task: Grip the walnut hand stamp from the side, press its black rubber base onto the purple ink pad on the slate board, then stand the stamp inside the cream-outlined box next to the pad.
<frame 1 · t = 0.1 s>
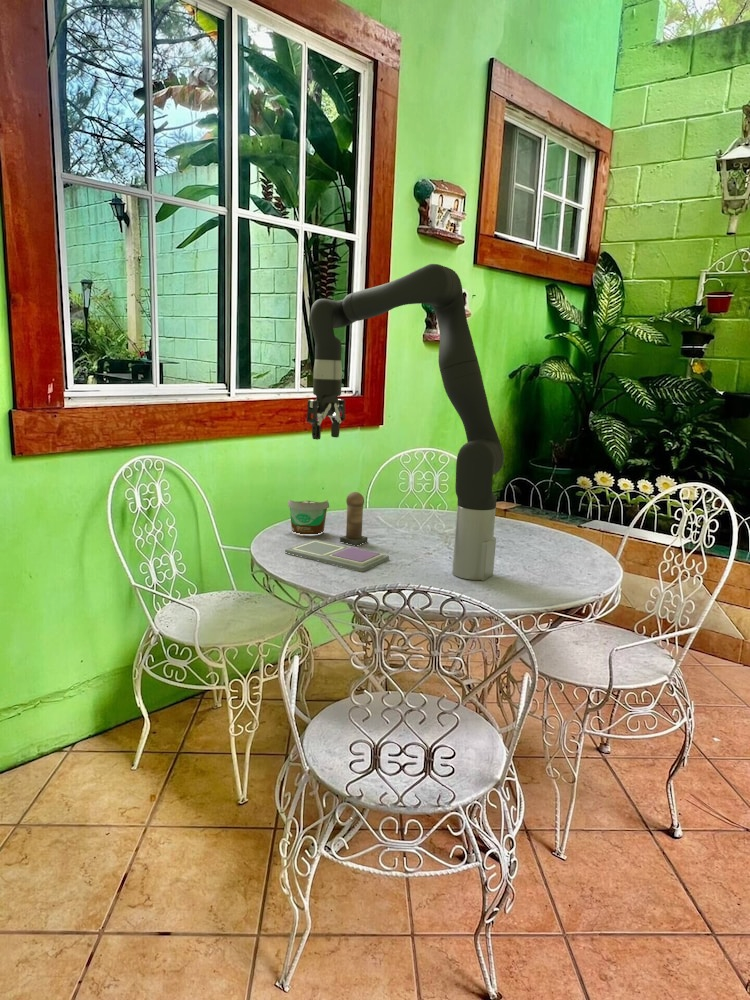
hand: (325, 438, 175), 29 cm above the table, tool pointing down, fingers open, 8 cm apart
food container: (307, 535, 188), on the table
stamp: (353, 542, 182), on the table
stamping board: (336, 556, 168), on the table
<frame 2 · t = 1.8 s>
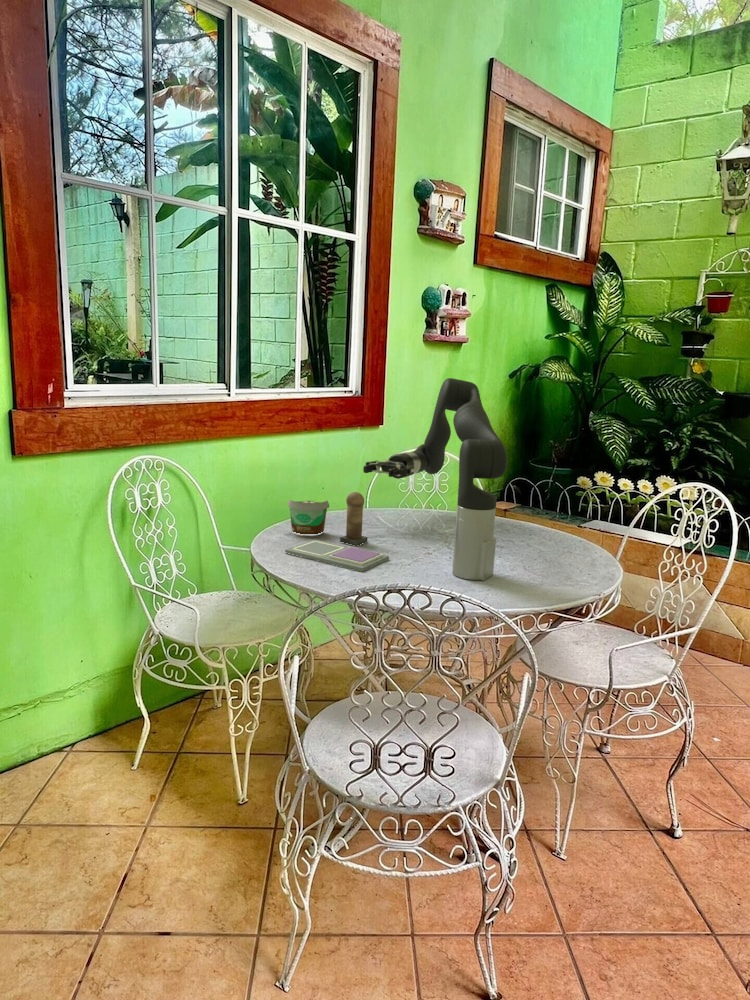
hand: (377, 471, 187), 19 cm above the table, tool horizontal, fingers open, 8 cm apart
nothing on the table moved.
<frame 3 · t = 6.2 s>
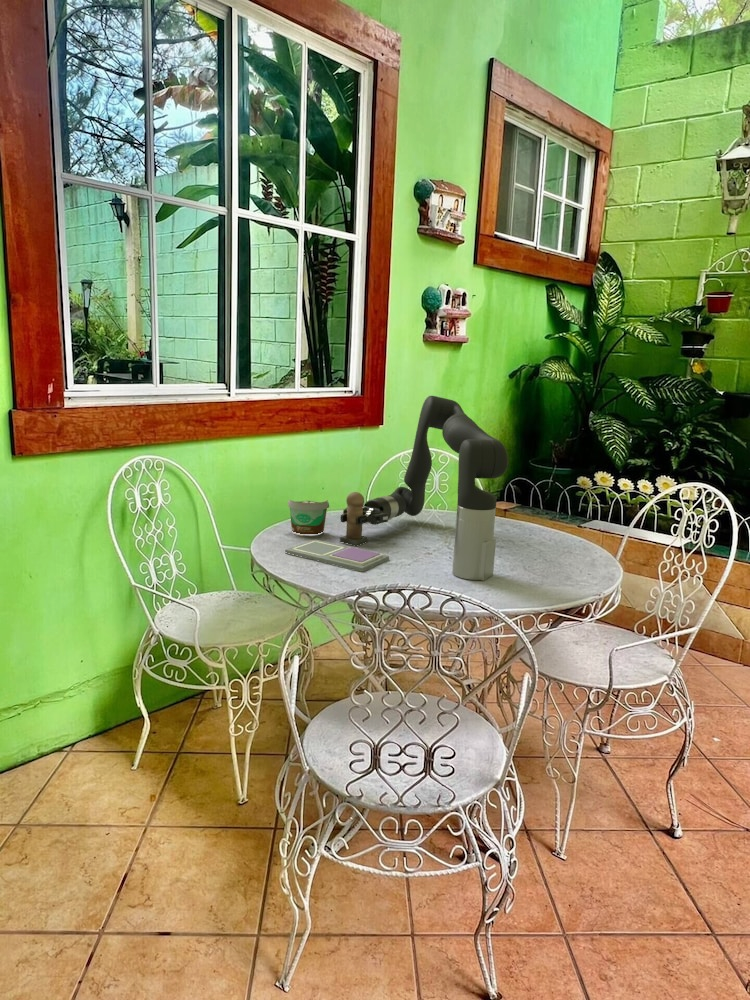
hand: (349, 519, 178), 7 cm above the table, tool horizontal, fingers closed on stamp, 4 cm apart
stamp: (353, 542, 182), on the table, touching gripper
everything else where it was.
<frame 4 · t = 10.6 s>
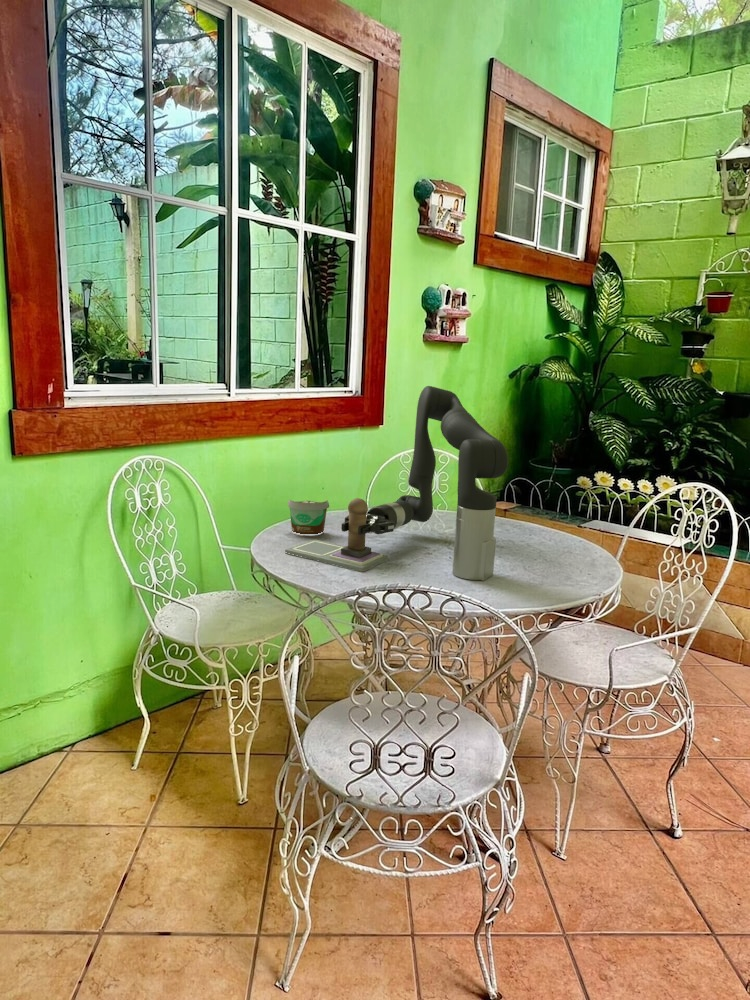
hand: (351, 529, 161), 9 cm above the table, tool horizontal, fingers closed on stamp, 4 cm apart
stamp: (356, 553, 165), point 2 cm above the table, touching gripper, stamping board
everything else where it was.
when the fingers open (9 cm above the table, at t = 15.0 s): stamp stays where it is, resting on stamping board.
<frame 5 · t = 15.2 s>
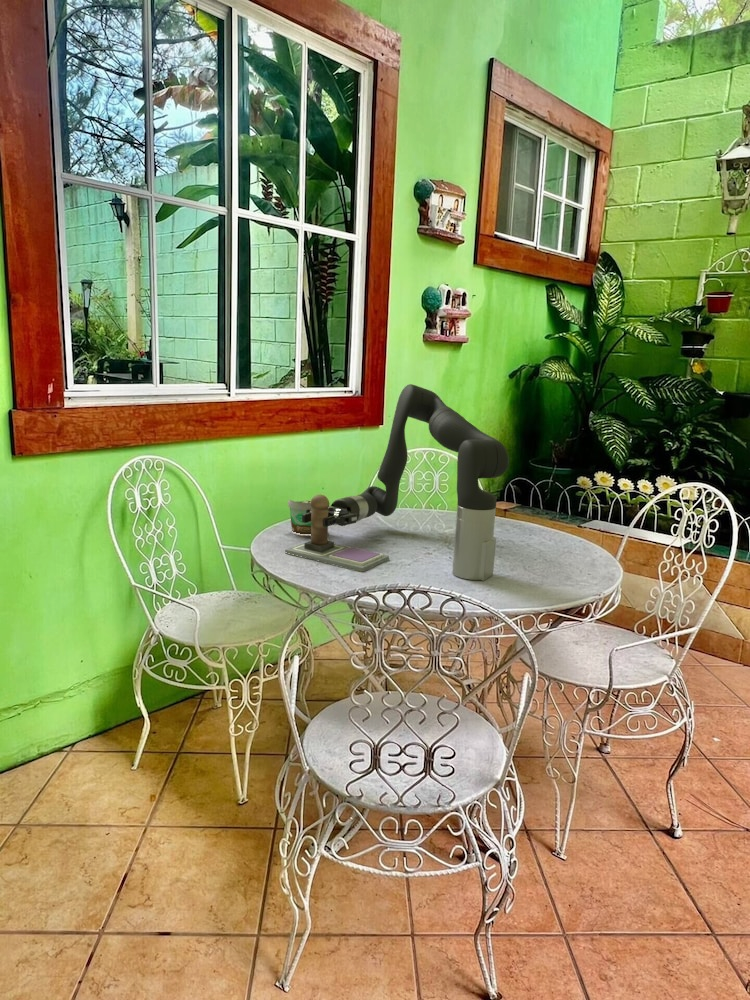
hand: (313, 520, 167), 9 cm above the table, tool horizontal, fingers open, 6 cm apart
stamp: (319, 547, 171), point 1 cm above the table, touching stamping board
everything else where it was.
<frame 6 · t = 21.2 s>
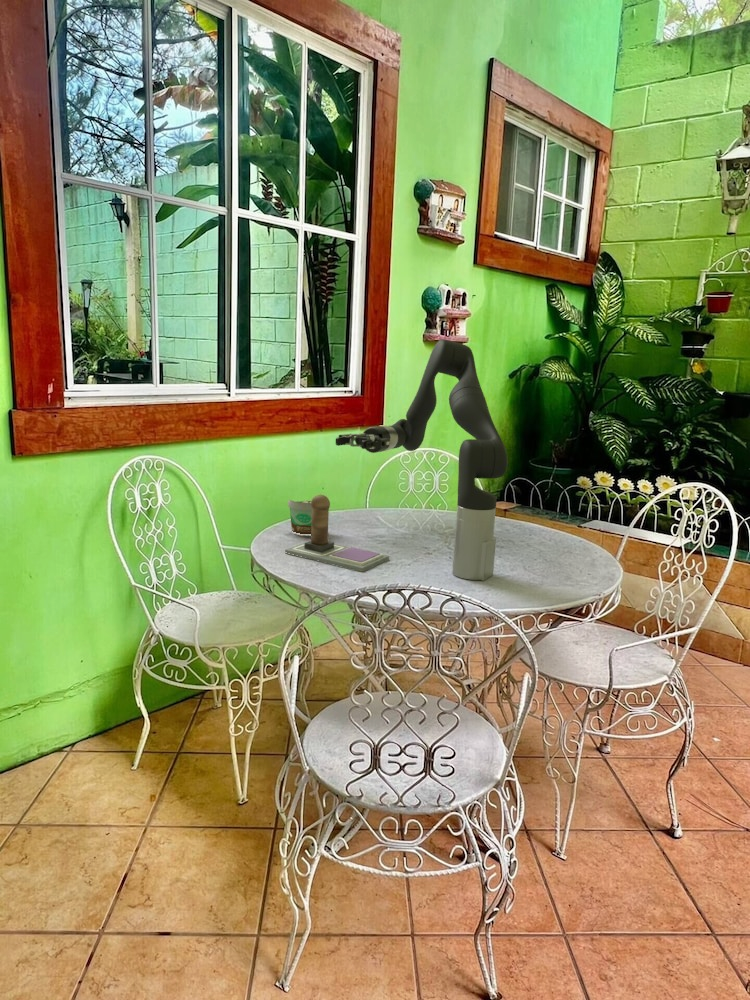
hand: (349, 443, 176), 28 cm above the table, tool horizontal, fingers open, 8 cm apart
nothing on the table moved.
at the end: stamp 0.3 cm from the target spot on the stamping board, point 1.0 cm above the stamping board's base; stamp tilted 0°; the gripper is holding nothing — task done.
